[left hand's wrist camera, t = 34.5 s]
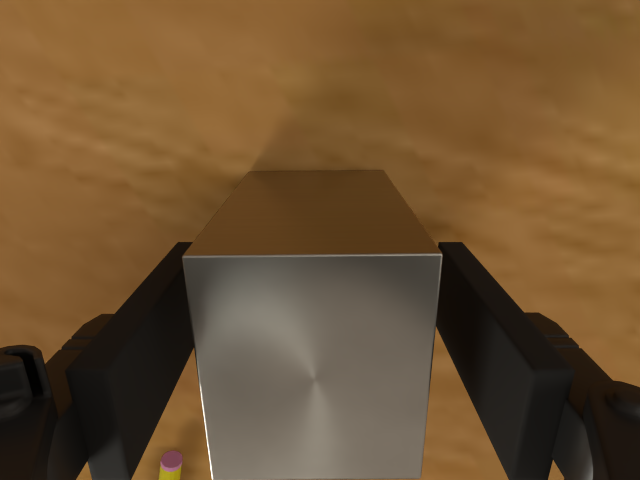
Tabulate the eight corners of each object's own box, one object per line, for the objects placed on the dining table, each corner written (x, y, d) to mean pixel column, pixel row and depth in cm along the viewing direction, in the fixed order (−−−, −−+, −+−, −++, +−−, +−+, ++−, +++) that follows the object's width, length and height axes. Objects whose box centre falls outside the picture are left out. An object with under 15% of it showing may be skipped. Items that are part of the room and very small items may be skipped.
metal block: (383, 170, 16) (443, 253, 8) (377, 308, 18) (421, 480, 10) (248, 171, 16) (180, 255, 8) (258, 310, 18) (211, 480, 10)
